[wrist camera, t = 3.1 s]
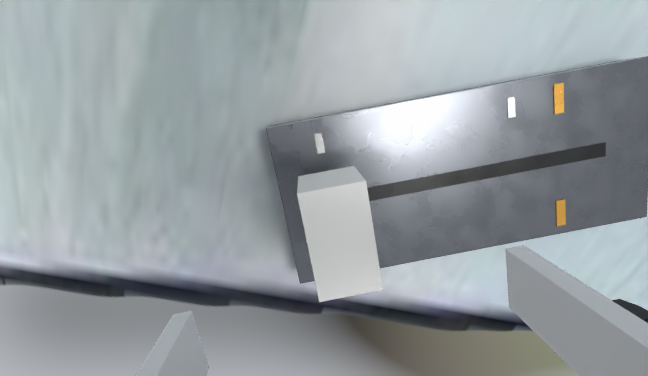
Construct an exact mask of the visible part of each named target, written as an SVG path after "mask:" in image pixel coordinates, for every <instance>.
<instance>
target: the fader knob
mask: <svg viewBox="0 0 648 376" xmlns="http://www.w3.org/2000/svg"><path fill="white" fill-rule="evenodd" d="M297 197H298V201H299V206H300V211H301V216H302V221H303V226H304V230H305V235H306V240H307V245H308V250H309V255H310V259H311V264H312V269H313V274H314V279H315V284H316V288H317V293H318V298H319V302H322V301H328V300H333V299H338V298H343V297H348V296H353V295H358V294H364V293H369V292H374V291H379V290H383V286H382V280H381V273H380V267H379V260H378V254H377V247H376V241H375V235H374V228H373V222H372V215H371V209H370V203H369V196H368V190H367V183H366V180H365V179H364V178H363V176H362V175H361V174H360V173H359V171H358V170H357V169H356V168H355V167H354V166H350V167H345V168H340V169H334V170H329V171H324V172H319V173H313V174H308V175H303V176H298V187H297Z"/></svg>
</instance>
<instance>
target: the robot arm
mask: <svg viewBox="0 0 648 376" xmlns="http://www.w3.org/2000/svg"><path fill="white" fill-rule="evenodd" d="M506 265H507V281H508V297H509V308H510V309H511V310H512V311H514V312H515V313H516V314H517V315H518V316H519V317H520V318H521V319H522V320H523V321H524V322H525V323H526V324H527V325H528V326H529V327H530V328H531V329H532V330H533V331H534V332H535V333H536V334H537V335H538V336H539V337H540V338H541V339H542V340H543V341H545V342H546V343H547V344H548V345H549V346H550V347H551V348H552V349H553V350H554V351H555V352H556V353H557V354H558V355H559V356H560V357H561V358H562V359H563V360H564V361H565V362H566V363H567V364H568V365H569V366H570V367H571V368H572V369H574V370H575V371H576V372H577V373H578V374H579V375H580V376H648V311H647V310H645V309H644V308H642V307H640V306H638V305H635V304H632V303H629V302H626V301H624V300H621V299H617V300H610V299H608V298H607V297H605V296H604V295H602V294H600V293H599V292H597V291H596V290H594V289H592V288H591V287H589V286H588V285H586V284H584V283H583V282H581V281H580V280H578V279H576V278H575V277H573V276H572V275H570V274H568V273H567V272H565V271H564V270H562V269H560V268H559V267H557V266H556V265H554V264H552V263H551V262H549V261H548V260H546V259H544V258H543V257H541V256H540V255H538V254H536V253H535V252H533V251H532V250H530V249H528V248H527V247H525V246H524V245H523V246H518V247H513V248H508V249H506ZM208 369H209V365H208V362H207V358H206V355H205V353H204V349H203V345H202V342H201V339H200V336H199V332H198V329H197V326H196V323H195V319H194V316H193V313H192V311H187V312H183V313H177V314H173V315H172V317H171V319H170V320H169V322H168V324H167V325H166V327H165V328H164V330H163V332H162V333H161V335H160V336H159V338H158V340H157V341H156V343H155V344H154V346H153V348H152V349H151V351H150V353H149V354H148V356H147V357H146V359H145V361H144V362H143V364H142V365H141V367H140V369H139V370H138V372H137V374H136V375H135V376H206V375H207V372H208Z"/></svg>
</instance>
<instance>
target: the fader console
mask: <svg viewBox="0 0 648 376" xmlns="http://www.w3.org/2000/svg"><path fill="white" fill-rule="evenodd" d="M266 130H267V135H268V139H269V144H270V148H271V153H272V158H273V162H274V167H275V171H276V176H277V180H278V185H279V190H280V194H281V199H282V203H283V208H284V212H285V217H286V222H287V226H288V231H289V235H290V240H291V244H292V249H293V254H294V258H295V263H296V267H297V272H298V276H299V281H300V284H301V283H306V282H311V281H315V279H314V274H313V269H312V264H311V259H310V255H309V250H308V245H307V240H306V235H305V230H304V226H303V221H302V216H301V211H300V206H299V201H298V197H297V187H298V176H303V175H308V174H313V173H319V172H324V171H329V170H334V169H340V168H345V167H350V166H354V167H355V168H356V169H357V170H358V171H359V173H360V174H361V175H362V176H363V178H364V179H365V180H366V183H367V190H368V196H369V203H370V209H371V215H372V222H373V228H374V235H375V241H376V247H377V254H378V260H379V267H380V268H383V267H389V266H394V265H399V264H404V263H409V262H415V261H420V260H425V259H430V258H435V257H440V256H446V255H451V254H456V253H461V252H466V251H472V250H477V249H482V248H487V247H492V246H497V245H503V244H508V243H513V242H518V241H523V240H529V239H534V238H539V237H544V236H549V235H554V234H560V233H565V232H570V231H575V230H580V229H586V228H591V227H596V226H601V225H606V224H611V223H617V222H622V221H627V220H632V219H637V218H643V217H647V197H648V56H647V57H640V58H633V59H626V60H619V61H614V62H609V63H603V64H598V65H593V66H587V67H582V68H577V69H571V70H566V71H561V72H555V73H550V74H545V75H539V76H534V77H529V78H523V79H518V80H513V81H507V82H502V83H496V84H491V85H486V86H480V87H475V88H470V89H464V90H459V91H454V92H448V93H443V94H438V95H432V96H427V97H422V98H416V99H411V100H406V101H400V102H395V103H390V104H384V105H379V106H374V107H368V108H363V109H358V110H352V111H347V112H342V113H336V114H331V115H326V116H320V117H315V118H310V119H304V120H299V121H294V122H288V123H283V124H278V125H272V126H269V127H267V128H266Z"/></svg>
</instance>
